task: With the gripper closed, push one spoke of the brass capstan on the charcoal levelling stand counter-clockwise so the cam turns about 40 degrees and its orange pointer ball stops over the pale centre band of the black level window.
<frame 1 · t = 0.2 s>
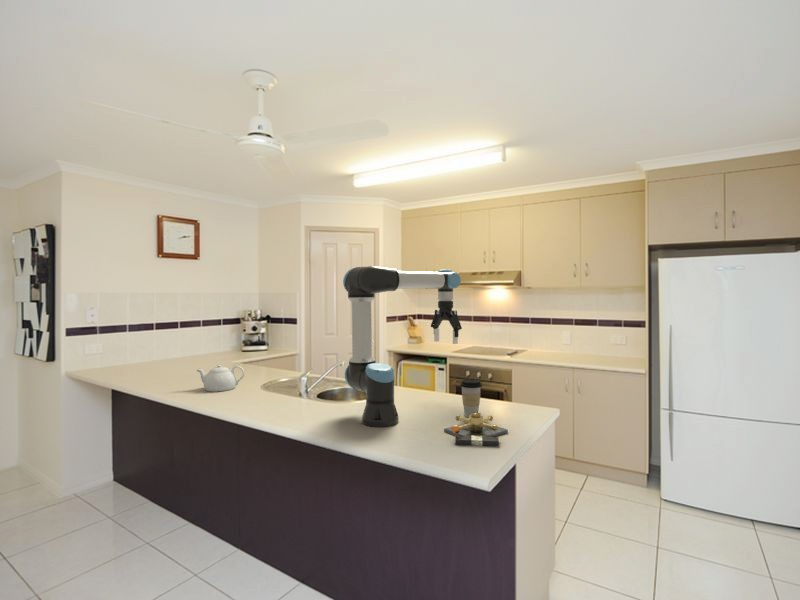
hand: (445, 342, 224), 28 cm above the countertop, fingers open, 13 cm apart
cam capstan: (473, 422, 168), point 5 cm above the countertop, hinge at 0.0°
coffee cup: (471, 415, 193), on the countertop
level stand: (475, 433, 169), on the countertop
teapot: (221, 389, 250), on the countertop
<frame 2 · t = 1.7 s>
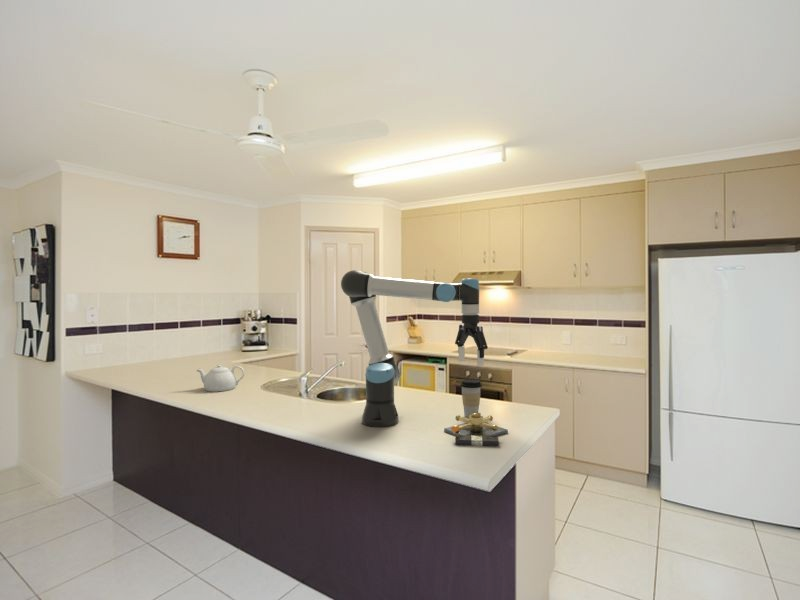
hand: (470, 363, 193), 23 cm above the countertop, fingers open, 13 cm apart
nothing on the countertop moved.
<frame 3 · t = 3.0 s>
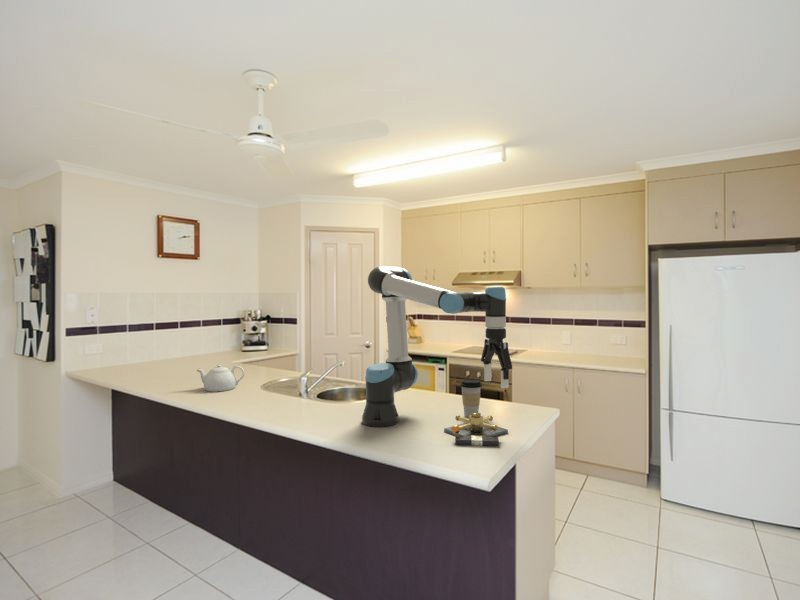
hand: (496, 384, 168), 19 cm above the countertop, fingers open, 12 cm apart
nothing on the countertop moved.
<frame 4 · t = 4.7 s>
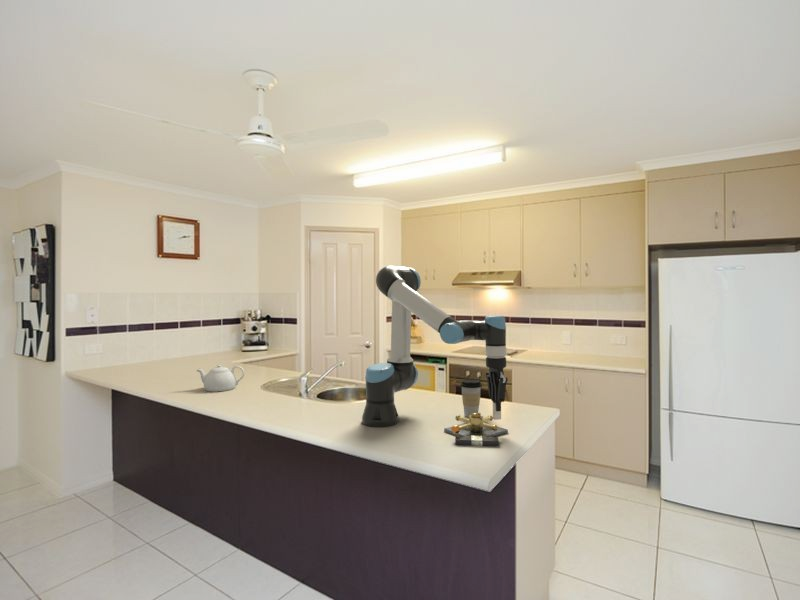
hand: (497, 419, 168), 6 cm above the countertop, fingers closed
nothing on the countertop moved.
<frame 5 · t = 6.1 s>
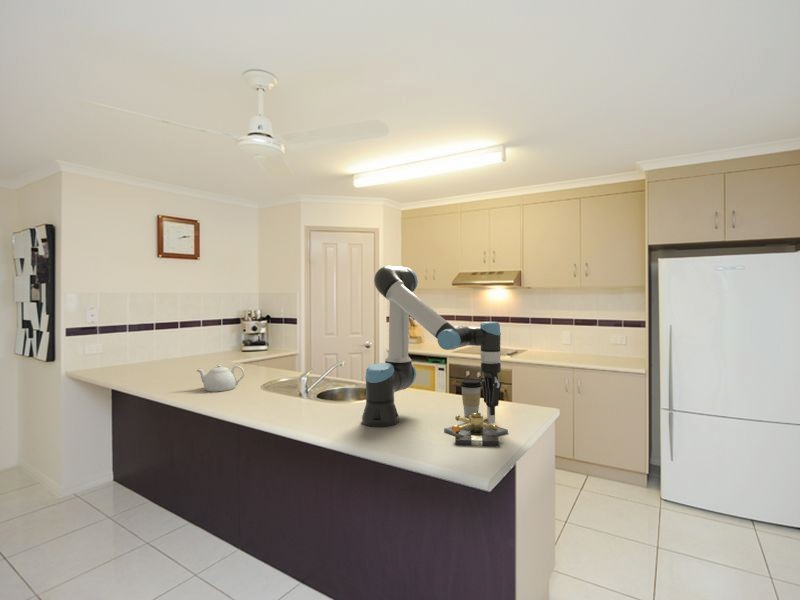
hand: (491, 422, 172), 3 cm above the countertop, fingers closed
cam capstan: (473, 422, 168), point 5 cm above the countertop, hinge at 0.4°, touching gripper
everything else where it was.
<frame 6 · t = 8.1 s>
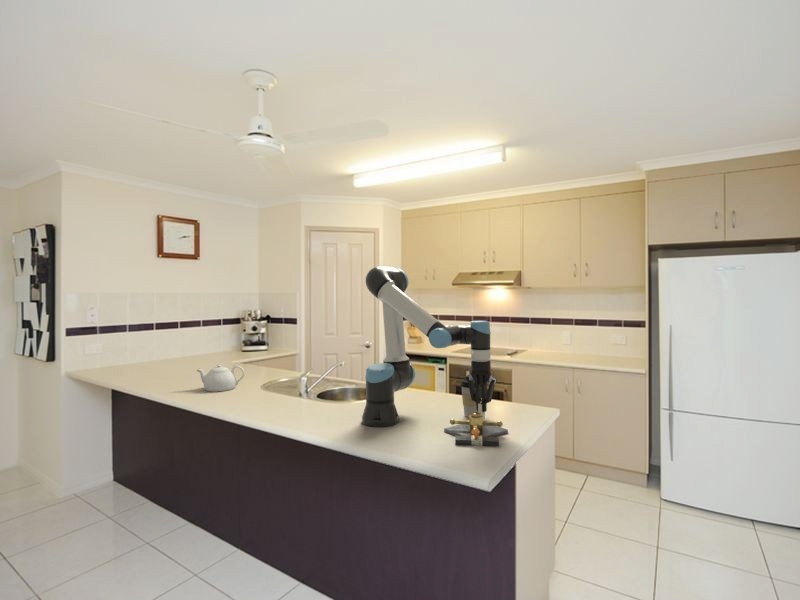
hand: (481, 419, 176), 3 cm above the countertop, fingers closed
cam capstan: (475, 422, 167), point 5 cm above the countertop, hinge at 37.4°
everything else where it was.
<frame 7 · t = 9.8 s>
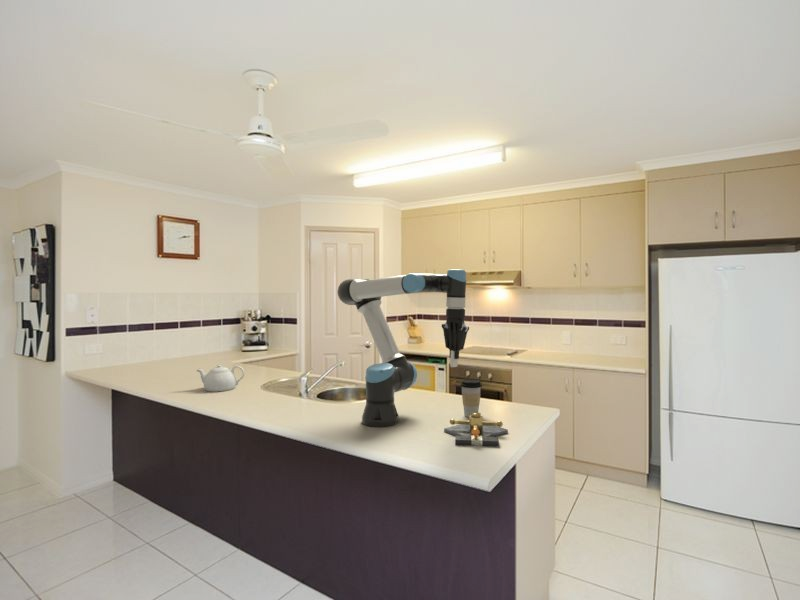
hand: (453, 366, 179), 24 cm above the countertop, fingers closed
nothing on the countertop moved.
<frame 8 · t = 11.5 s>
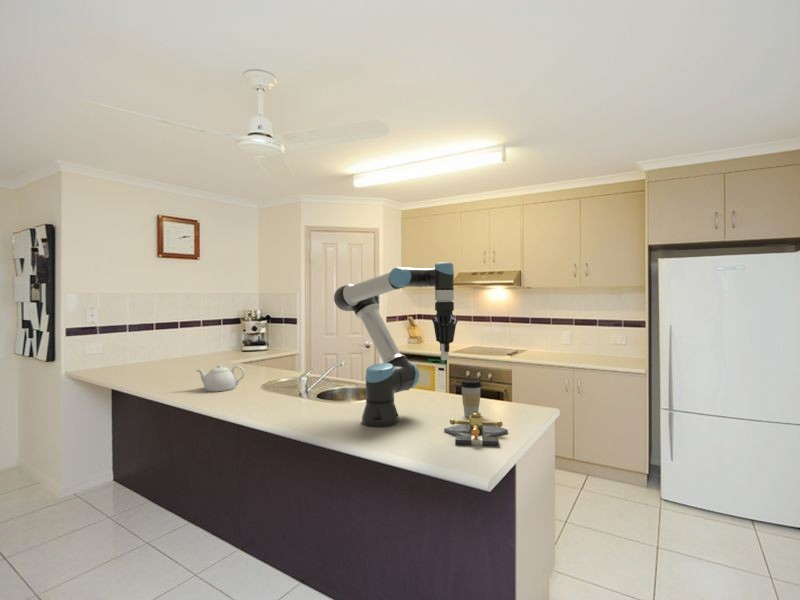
hand: (444, 359, 179), 26 cm above the countertop, fingers closed
nothing on the countertop moved.
at the end: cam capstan at +37° (first picture: +0°); coffee cup moved 0.2 cm from its start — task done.
